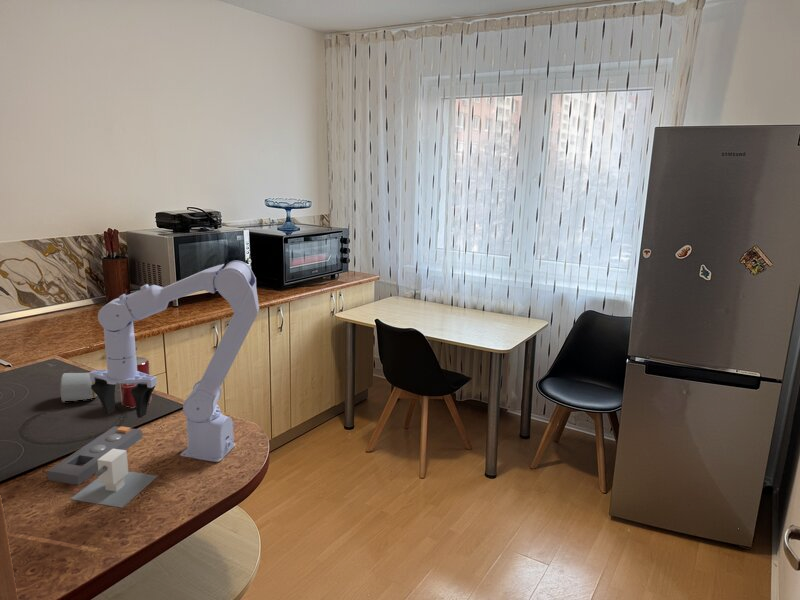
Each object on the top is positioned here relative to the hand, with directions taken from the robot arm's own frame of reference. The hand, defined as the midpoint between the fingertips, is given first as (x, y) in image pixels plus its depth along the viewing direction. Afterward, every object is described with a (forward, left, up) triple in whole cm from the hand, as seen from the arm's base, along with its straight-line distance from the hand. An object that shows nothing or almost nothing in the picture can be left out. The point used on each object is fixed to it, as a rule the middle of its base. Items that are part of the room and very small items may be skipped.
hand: (126, 413), depth 121 cm
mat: (-7, +13, -9) cm, 17 cm away
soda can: (+14, -23, -10) cm, 29 cm away
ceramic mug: (+31, -22, -10) cm, 39 cm away
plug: (-7, +13, -9) cm, 17 cm away
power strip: (+4, +4, -9) cm, 11 cm away
